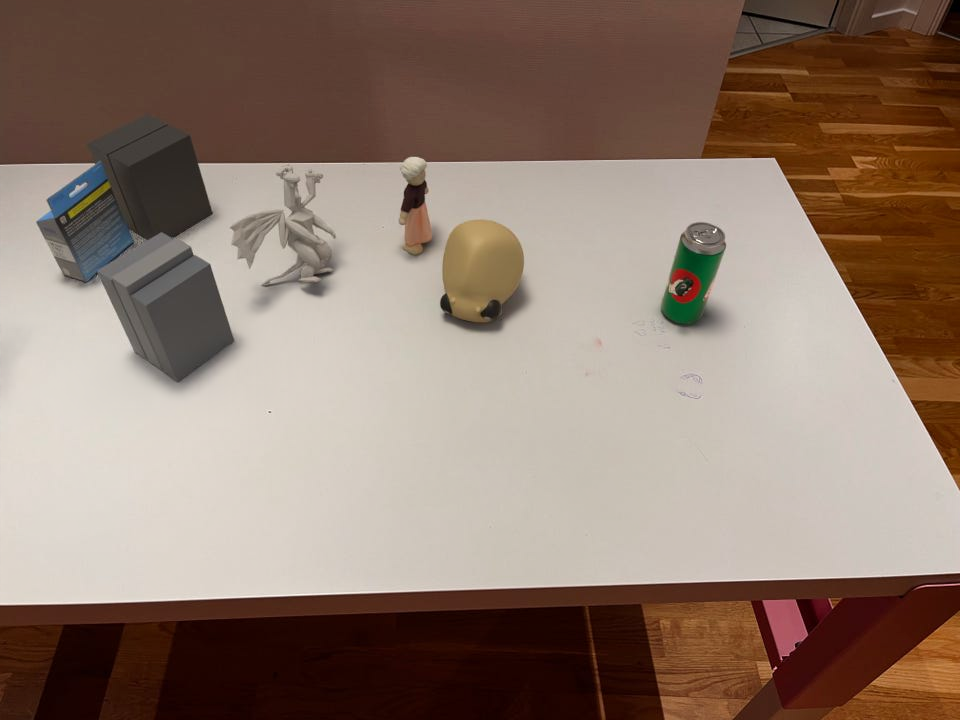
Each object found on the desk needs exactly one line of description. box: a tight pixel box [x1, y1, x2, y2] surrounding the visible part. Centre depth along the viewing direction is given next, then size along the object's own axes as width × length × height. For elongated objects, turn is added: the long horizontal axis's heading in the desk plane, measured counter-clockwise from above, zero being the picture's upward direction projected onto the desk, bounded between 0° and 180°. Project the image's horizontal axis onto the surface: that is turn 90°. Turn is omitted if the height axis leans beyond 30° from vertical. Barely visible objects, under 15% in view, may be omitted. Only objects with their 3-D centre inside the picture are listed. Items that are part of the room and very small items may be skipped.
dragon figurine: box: [228, 163, 337, 286], centre depth 90 cm, size 10×18×14 cm, turn 168°
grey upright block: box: [96, 232, 235, 383], centre depth 80 cm, size 8×8×12 cm
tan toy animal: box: [439, 219, 525, 323], centre depth 88 cm, size 10×12×11 cm
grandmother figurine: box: [398, 156, 433, 256], centre depth 94 cm, size 8×4×13 cm, turn 171°
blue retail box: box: [35, 161, 134, 283], centre depth 90 cm, size 9×4×12 cm, turn 158°
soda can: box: [660, 221, 727, 325], centre depth 86 cm, size 5×5×12 cm
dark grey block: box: [86, 113, 214, 241], centre depth 96 cm, size 8×9×12 cm
